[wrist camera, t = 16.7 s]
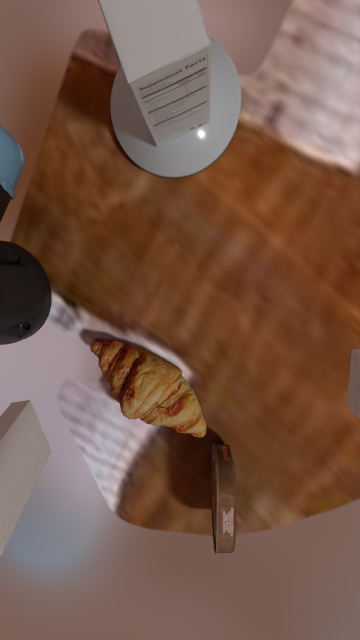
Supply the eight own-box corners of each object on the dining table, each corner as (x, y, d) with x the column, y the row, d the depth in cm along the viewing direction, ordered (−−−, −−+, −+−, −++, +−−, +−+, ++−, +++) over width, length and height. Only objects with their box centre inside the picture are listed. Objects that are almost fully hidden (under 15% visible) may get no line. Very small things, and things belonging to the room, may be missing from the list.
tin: (212, 431, 42) (212, 471, 34) (232, 432, 42) (238, 473, 34) (210, 514, 45) (211, 569, 37) (230, 516, 45) (234, 572, 37)
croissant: (216, 403, 45) (237, 410, 37) (180, 457, 42) (193, 477, 35) (115, 321, 44) (114, 311, 36) (70, 371, 41) (59, 372, 33)
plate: (118, 183, 37) (116, 180, 36) (107, 43, 34) (104, 36, 33) (240, 173, 35) (241, 170, 34) (240, 24, 32) (241, 17, 31)
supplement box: (135, 88, 33) (91, -17, 21) (192, 59, 32) (181, -69, 20) (155, 149, 35) (125, 84, 22) (212, 124, 33) (213, 41, 21)
